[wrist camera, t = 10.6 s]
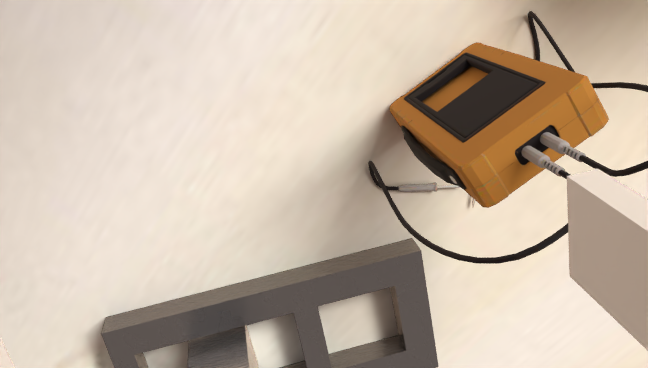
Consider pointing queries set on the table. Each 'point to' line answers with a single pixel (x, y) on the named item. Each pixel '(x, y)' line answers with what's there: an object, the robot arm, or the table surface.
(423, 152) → the multimeter
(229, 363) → the grey tall block
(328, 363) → the grey flat frame
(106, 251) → the table surface
